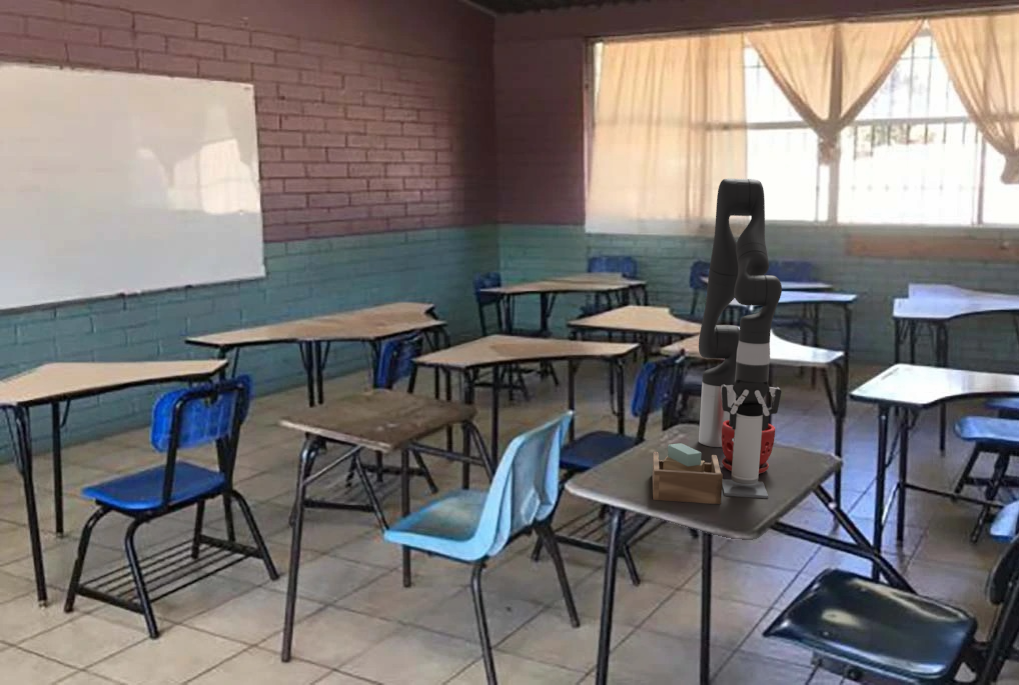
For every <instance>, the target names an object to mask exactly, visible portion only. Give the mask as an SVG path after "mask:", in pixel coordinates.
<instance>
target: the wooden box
mask: <svg viewBox="0 0 1019 685" xmlns="http://www.w3.org/2000/svg"><path fill="white" fill-rule="evenodd" d="M652 456H653V458H652V476H651V477H652V499H653V501H665V502H666V501H667V502H682V503H696V504H699V503H700V504H710V505H711V504H715V505H721V504H722V494H723V487H722V479H724V478H723V477H724V476H723V475H724V474H723V473H722V472H721V471H722V470H721V468H720V465H719V464H720V463H719V460H718V455H716V454H712V455H711V458H710V459H711V461H710V462H705V465H704V472H692V471H676V470H663V463H664V459H659V452H658V451H653V455H652Z"/></svg>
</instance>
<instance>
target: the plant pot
mask: <svg viewBox="0 0 1019 685" xmlns="http://www.w3.org/2000/svg"><path fill="white" fill-rule="evenodd" d="M734 432H735V429H732V427H730V424H729V420H726V421H724V422H723V424H722V436H721V440H722V447H721V449H722V452H723V454H724V458H723V459H722V460H721V464H722V465H723V467H724V468H725V469H726V470H728V471H729V472H732V461H733V446H734ZM775 437H776V427H775V426H774V425H773V424H771V423H768V428H767V429H765V431H762V435H761V449H760V462H759V474H762V473H765V472H766V471H768V470H769V466H770V465H769V463H768V460H769V458H770V457H771V454H772V452H773V448H774V444H775V443H774V442H775ZM732 439H733V441H732ZM759 474H758V475H759Z"/></svg>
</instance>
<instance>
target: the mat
mask: <svg viewBox="0 0 1019 685" xmlns="http://www.w3.org/2000/svg"><path fill="white" fill-rule="evenodd" d="M722 492H723V495H724V496H727V497H740V498H741V497H742V498H757V499H769V495H768V491H767V488H766V486H765V484H764V481H758V482H757V483H755V484H749V485H748V484H740V483H736V482H734V481H733V480H732V479H724V478H723V479H722Z"/></svg>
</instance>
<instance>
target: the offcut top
mask: <svg viewBox="0 0 1019 685" xmlns="http://www.w3.org/2000/svg"><path fill="white" fill-rule="evenodd" d="M667 456H668V457H670V458H672V459H674V460H676V461H678V462H680V463H682V464H684V465H686V466H695V465H701V460H702V452H701V451H700V450H697V449H695V448H692V447H690V446H689V445H686V444H684V443H681V442H680V443H673V444H672V443H671V444H668V445H667Z"/></svg>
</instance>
